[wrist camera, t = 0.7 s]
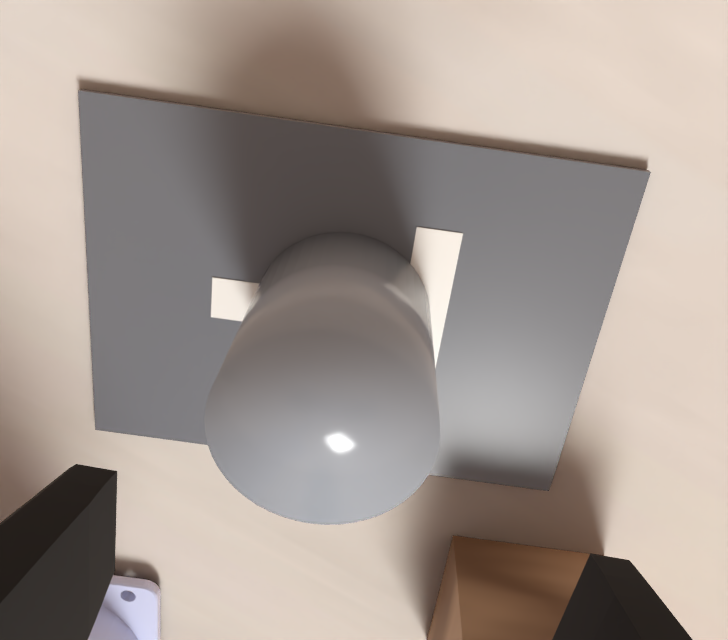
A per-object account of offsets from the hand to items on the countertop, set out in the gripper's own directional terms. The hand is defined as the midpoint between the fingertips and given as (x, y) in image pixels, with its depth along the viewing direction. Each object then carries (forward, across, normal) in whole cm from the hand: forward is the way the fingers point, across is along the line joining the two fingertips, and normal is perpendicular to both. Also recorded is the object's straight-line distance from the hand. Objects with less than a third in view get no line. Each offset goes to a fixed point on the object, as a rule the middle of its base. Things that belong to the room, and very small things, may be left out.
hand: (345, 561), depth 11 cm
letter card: (+10, +1, 0) cm, 10 cm away
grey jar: (+9, +1, 0) cm, 9 cm away
